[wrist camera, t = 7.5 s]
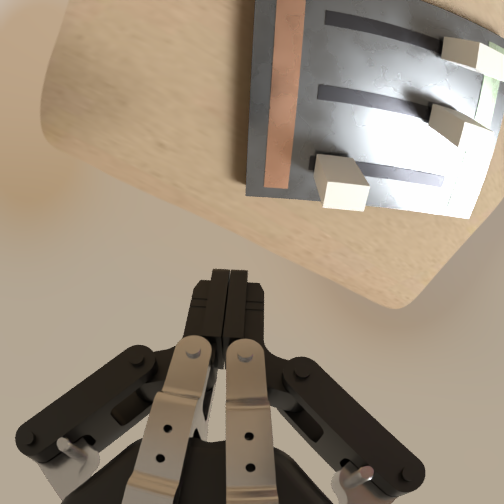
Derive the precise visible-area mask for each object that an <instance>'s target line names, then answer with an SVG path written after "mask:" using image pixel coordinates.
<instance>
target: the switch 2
mask: <svg viewBox="0 0 504 504" xmlns="http://www.w3.org/2000/svg"><path fill="white" fill-rule="evenodd" d="M441 59H444V60H446V61H449V62H452V63H454V64H457V65H459V66H462V67H464V68H467V69H469V70H472V71H475V72H478V73H481V74H484V75H487V76H490V77H492V78H495V79H498V80H500V81H503V82H504V55H503V54H502V53H500V52H498V51H496V50H494V49H492V48H490V47H488V46H486V45H484V44H482V43H480V42H476V41H470V40H464V39H458V38H452V37H444V40H443V48H442V55H441Z"/></svg>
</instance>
